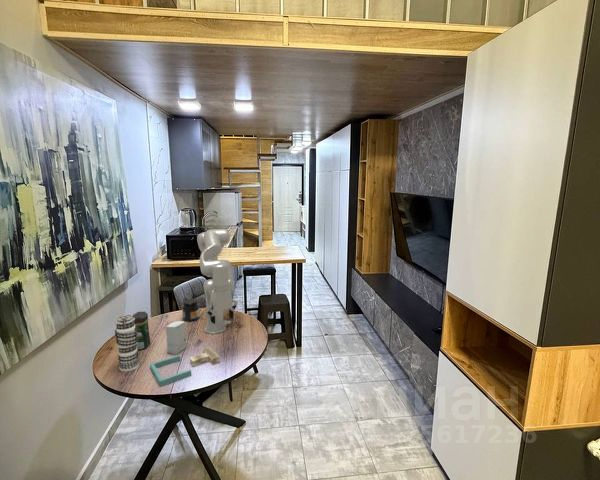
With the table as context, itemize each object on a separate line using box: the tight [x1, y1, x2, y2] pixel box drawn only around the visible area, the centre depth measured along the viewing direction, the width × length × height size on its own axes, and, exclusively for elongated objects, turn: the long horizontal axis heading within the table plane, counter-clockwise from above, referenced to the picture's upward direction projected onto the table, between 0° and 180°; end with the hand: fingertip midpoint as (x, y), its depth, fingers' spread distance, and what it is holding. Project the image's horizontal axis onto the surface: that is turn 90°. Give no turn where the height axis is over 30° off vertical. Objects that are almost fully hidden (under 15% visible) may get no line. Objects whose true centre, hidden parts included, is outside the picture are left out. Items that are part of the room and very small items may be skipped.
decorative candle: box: [114, 314, 140, 372], centre depth 152 cm, size 9×9×25 cm
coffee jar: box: [131, 311, 151, 351], centre depth 172 cm, size 10×8×19 cm
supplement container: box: [181, 298, 201, 322], centre depth 208 cm, size 10×10×12 cm
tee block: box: [189, 346, 221, 368], centre depth 158 cm, size 12×12×3 cm
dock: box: [149, 354, 192, 387], centre depth 149 cm, size 14×17×2 cm
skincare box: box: [165, 320, 187, 355], centre depth 168 cm, size 8×6×15 cm
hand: (222, 320), depth 162 cm, fingers open, 9 cm apart
